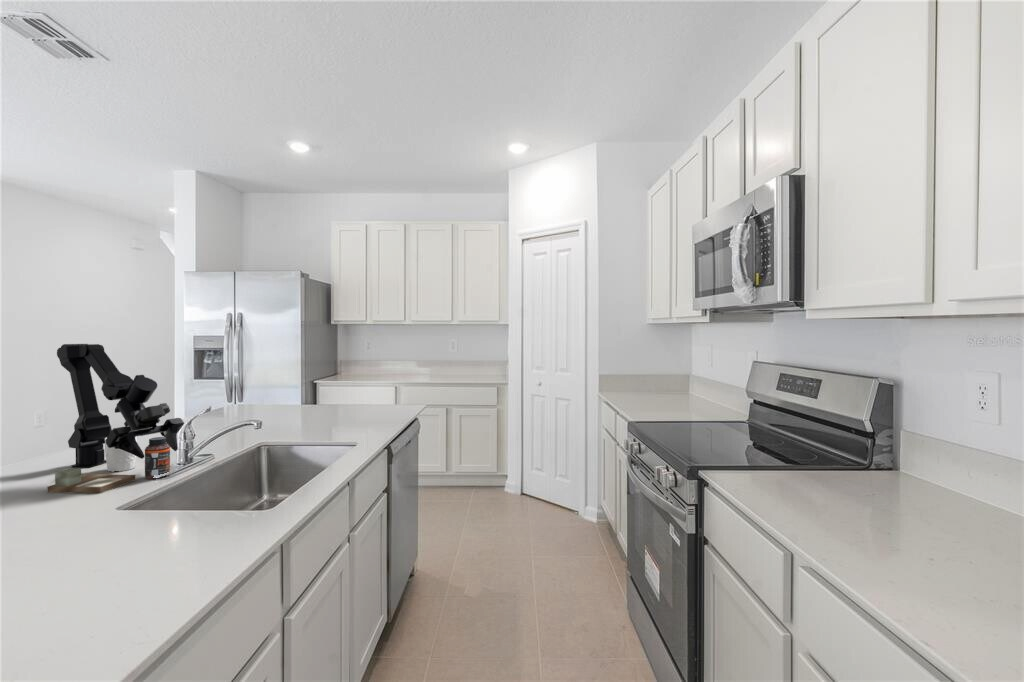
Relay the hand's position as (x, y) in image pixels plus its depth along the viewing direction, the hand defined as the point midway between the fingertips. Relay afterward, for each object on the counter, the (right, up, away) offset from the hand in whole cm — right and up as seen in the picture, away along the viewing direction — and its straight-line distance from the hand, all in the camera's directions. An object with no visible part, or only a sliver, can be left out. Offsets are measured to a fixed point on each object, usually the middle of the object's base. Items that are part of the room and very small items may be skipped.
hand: (160, 453), depth 138 cm
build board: (-13, -7, -8) cm, 16 cm away
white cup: (-18, -7, +8) cm, 21 cm away
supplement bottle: (-1, -7, +1) cm, 7 cm away
